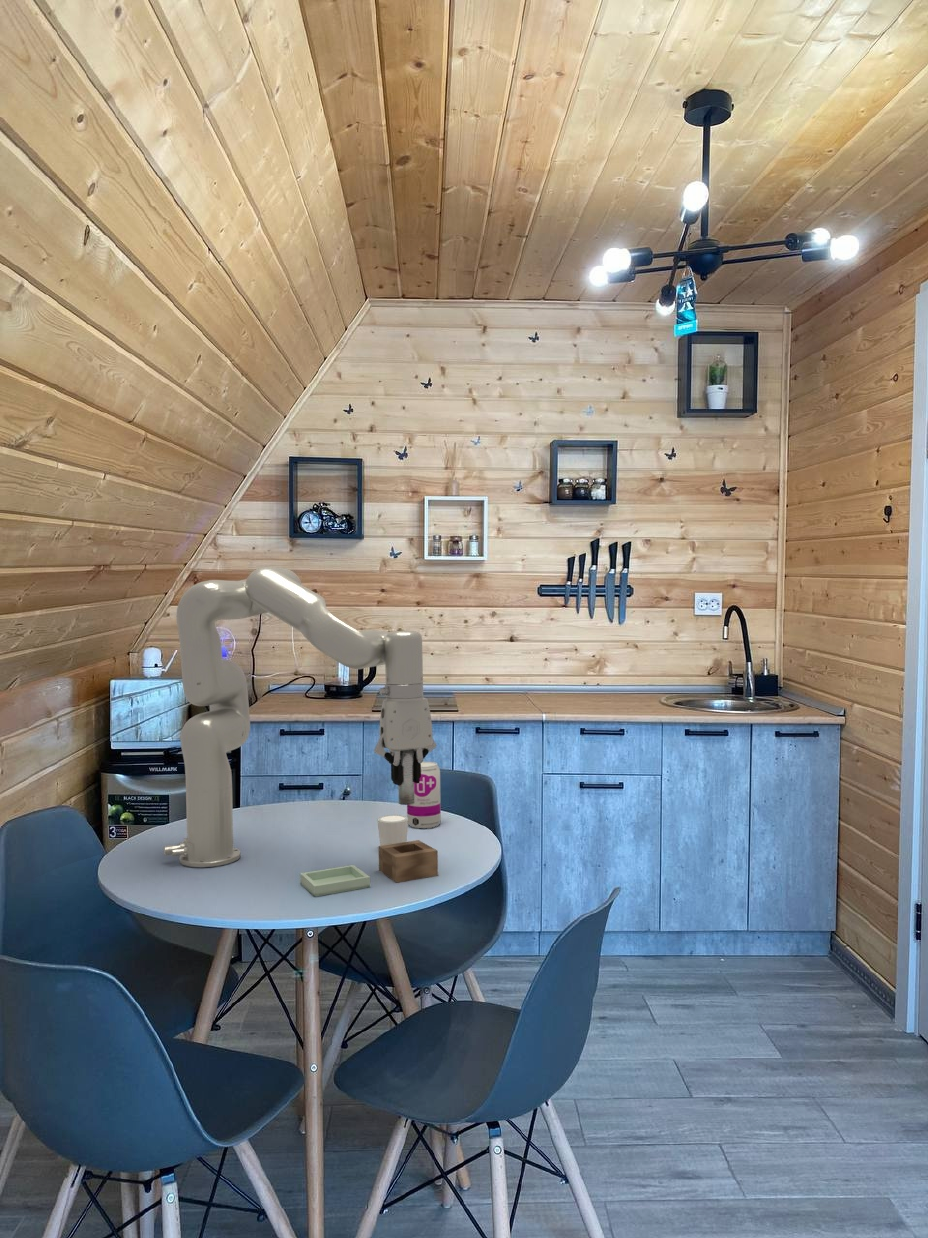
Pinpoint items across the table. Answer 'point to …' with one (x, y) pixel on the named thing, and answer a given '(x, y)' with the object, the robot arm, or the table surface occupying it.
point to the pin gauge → (407, 778)
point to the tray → (334, 880)
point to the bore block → (408, 861)
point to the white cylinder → (392, 829)
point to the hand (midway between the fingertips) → (406, 782)
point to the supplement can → (426, 798)
